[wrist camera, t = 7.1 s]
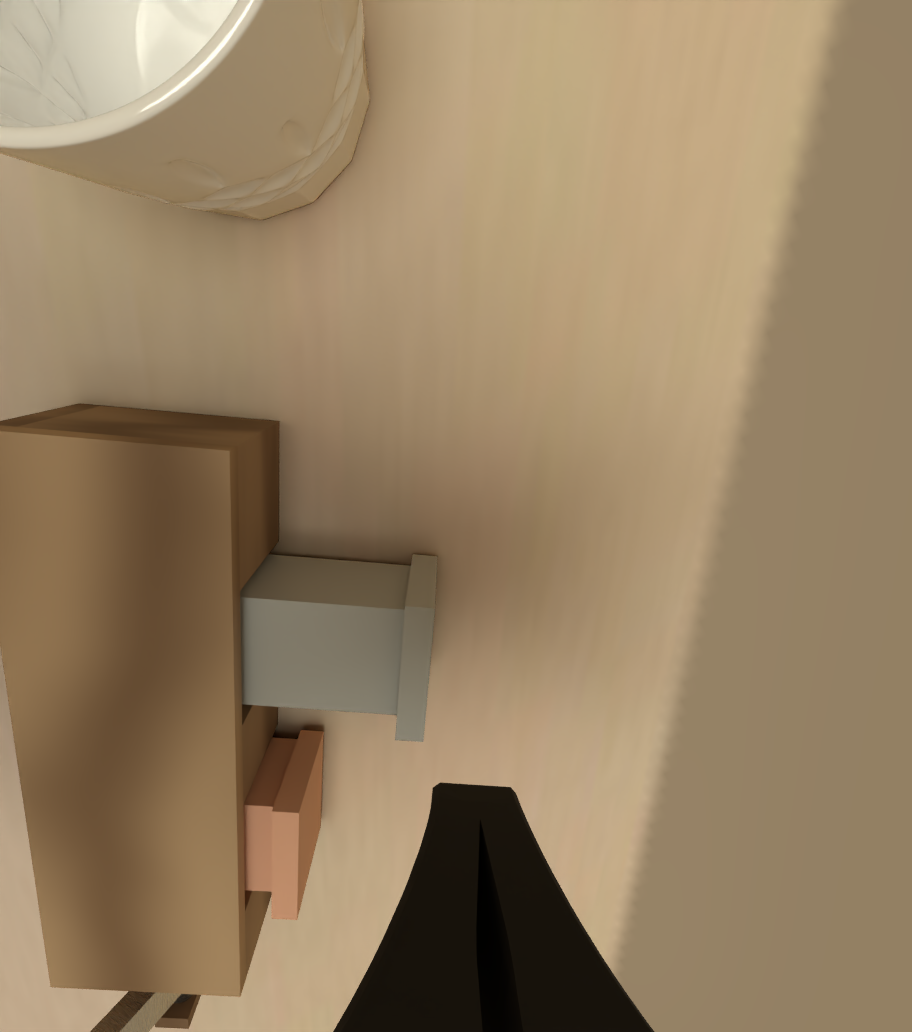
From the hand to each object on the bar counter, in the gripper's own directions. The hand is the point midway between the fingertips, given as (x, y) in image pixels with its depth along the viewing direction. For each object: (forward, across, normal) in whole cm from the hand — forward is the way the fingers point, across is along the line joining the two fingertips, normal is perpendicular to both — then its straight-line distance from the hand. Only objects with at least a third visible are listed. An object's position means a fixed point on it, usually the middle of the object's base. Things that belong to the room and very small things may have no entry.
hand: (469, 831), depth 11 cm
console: (+10, +9, +6) cm, 15 cm away
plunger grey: (+10, +4, +1) cm, 11 cm away
